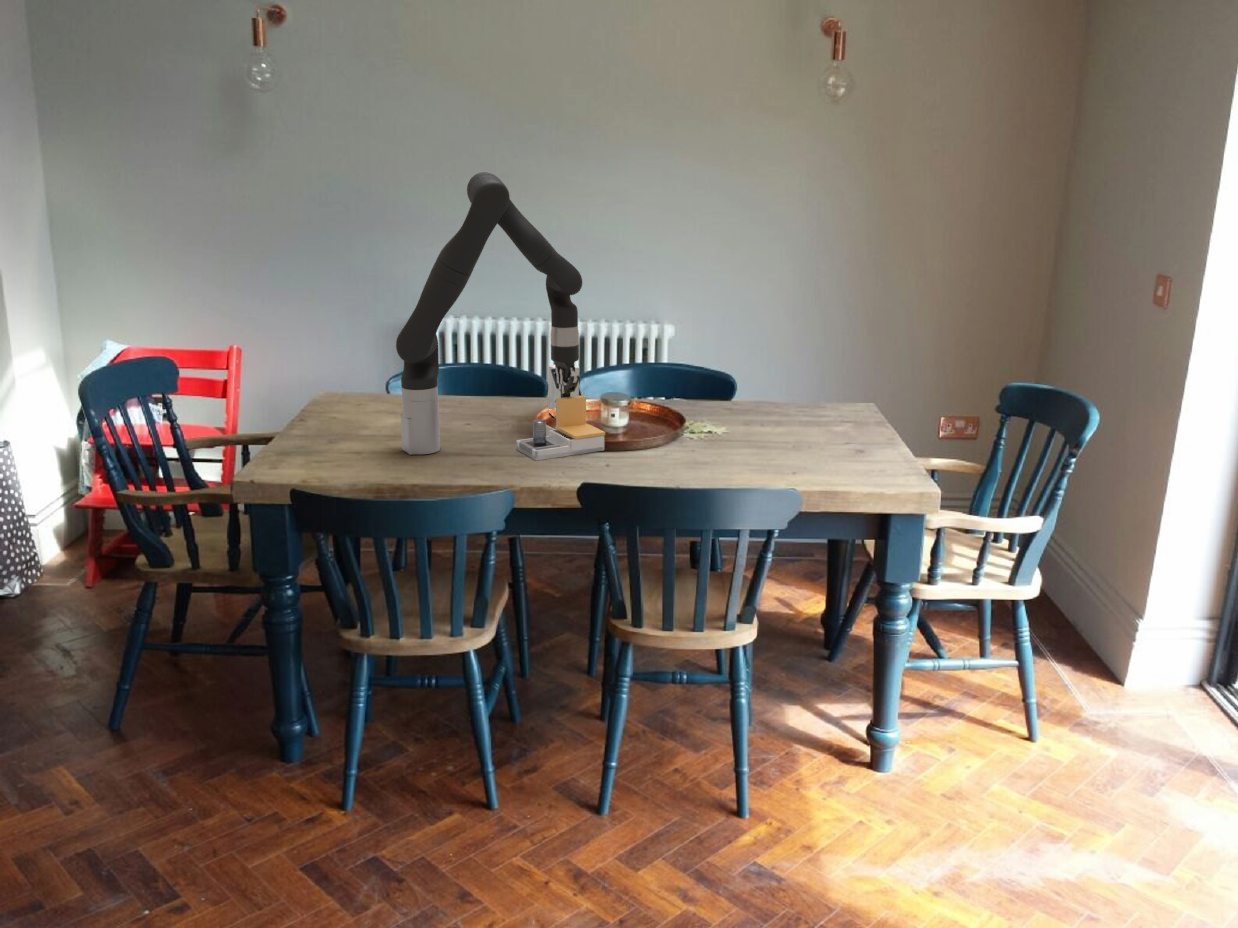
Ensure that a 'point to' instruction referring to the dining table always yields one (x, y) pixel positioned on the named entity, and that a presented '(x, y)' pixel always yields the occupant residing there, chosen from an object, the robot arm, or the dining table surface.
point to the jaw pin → (539, 433)
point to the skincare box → (554, 392)
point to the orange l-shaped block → (574, 418)
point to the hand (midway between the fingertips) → (565, 406)
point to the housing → (559, 445)
